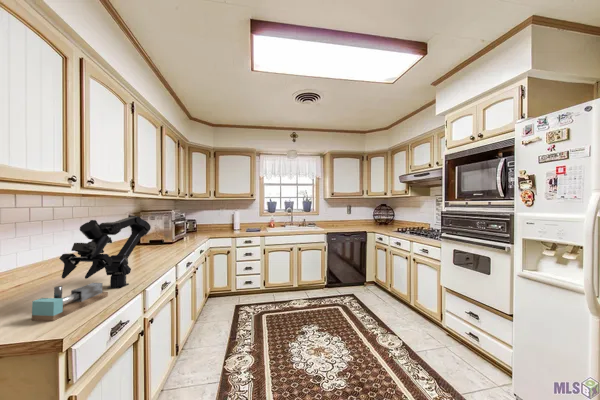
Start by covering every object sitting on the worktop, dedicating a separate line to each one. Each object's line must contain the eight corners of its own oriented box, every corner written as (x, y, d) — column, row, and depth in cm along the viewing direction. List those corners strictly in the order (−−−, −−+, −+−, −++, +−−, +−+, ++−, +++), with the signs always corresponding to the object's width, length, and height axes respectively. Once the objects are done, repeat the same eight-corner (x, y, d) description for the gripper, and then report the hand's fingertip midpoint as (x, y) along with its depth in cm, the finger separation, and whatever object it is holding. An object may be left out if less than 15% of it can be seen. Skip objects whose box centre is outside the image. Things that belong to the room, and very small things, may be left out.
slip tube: (77, 297, 102) (78, 278, 102) (84, 297, 102) (85, 279, 102) (43, 311, 89) (43, 290, 89) (50, 311, 89) (51, 290, 89)
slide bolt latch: (90, 295, 111) (91, 281, 111) (107, 296, 111) (108, 282, 111) (31, 320, 88) (32, 302, 88) (53, 320, 87) (53, 303, 88)
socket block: (41, 311, 91) (42, 297, 91) (62, 311, 91) (62, 298, 91) (31, 315, 88) (32, 301, 88) (53, 315, 87) (53, 301, 88)
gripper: (63, 234, 105) (35, 267, 94) (108, 234, 105) (85, 267, 94) (79, 249, 112) (55, 281, 101) (121, 249, 113) (101, 281, 102)
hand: (74, 278), depth 99 cm, fingers open, 9 cm apart
